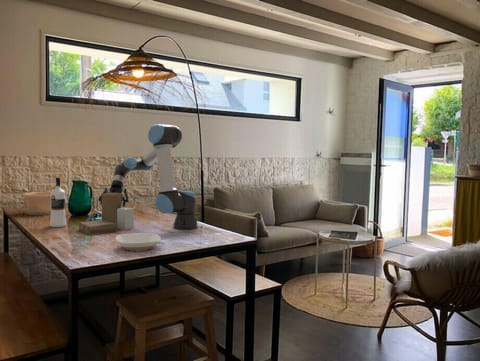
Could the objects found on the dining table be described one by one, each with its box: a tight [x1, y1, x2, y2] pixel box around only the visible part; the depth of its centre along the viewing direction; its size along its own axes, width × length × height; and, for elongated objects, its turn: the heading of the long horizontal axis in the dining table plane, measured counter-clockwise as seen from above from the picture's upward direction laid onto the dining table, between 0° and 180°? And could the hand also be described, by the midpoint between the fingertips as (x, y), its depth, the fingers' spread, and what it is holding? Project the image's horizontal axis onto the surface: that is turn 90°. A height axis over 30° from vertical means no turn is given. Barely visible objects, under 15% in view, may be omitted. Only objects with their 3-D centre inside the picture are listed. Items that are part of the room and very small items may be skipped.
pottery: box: [22, 191, 51, 216], centre depth 298 cm, size 22×22×14 cm
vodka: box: [49, 177, 67, 228], centre depth 253 cm, size 9×9×30 cm
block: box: [101, 192, 124, 224], centre depth 264 cm, size 10×10×20 cm
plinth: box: [78, 219, 118, 236], centre depth 245 cm, size 16×16×5 cm
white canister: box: [117, 207, 135, 230], centre depth 255 cm, size 7×7×12 cm
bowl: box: [115, 232, 162, 251], centre depth 207 cm, size 22×22×5 cm
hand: (111, 209), depth 261 cm, fingers closed on block, 12 cm apart
